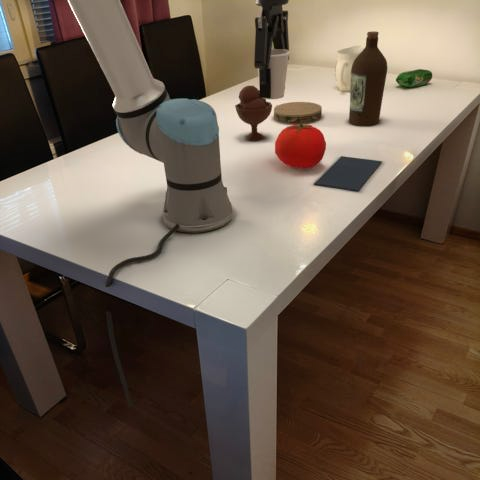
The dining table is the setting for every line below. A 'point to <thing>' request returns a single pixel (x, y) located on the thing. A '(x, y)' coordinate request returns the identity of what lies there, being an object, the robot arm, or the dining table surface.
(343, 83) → the pitcher
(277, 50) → the dixie cup
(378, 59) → the olive oil
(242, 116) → the ice cream bowl
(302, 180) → the dining table surface
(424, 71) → the snack package
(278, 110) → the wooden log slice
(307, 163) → the tomato
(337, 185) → the placemat
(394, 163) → the dining table surface
